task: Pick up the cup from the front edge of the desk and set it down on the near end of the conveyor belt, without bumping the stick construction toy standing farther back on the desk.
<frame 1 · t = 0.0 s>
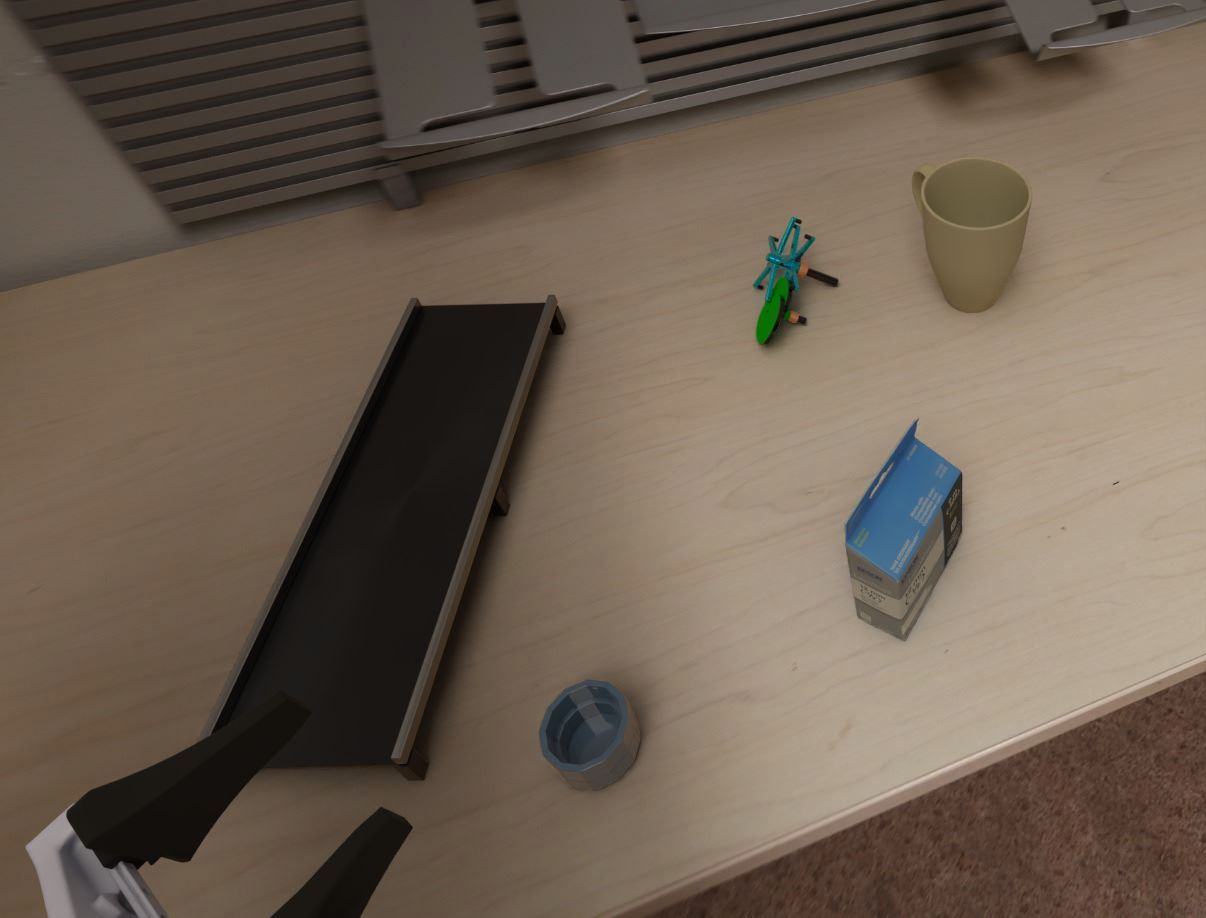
hand: (345, 756, 39), 19 cm above the table, tool horizontal, fingers open, 7 cm apart
cup: (600, 747, 57), on the table
stick construction toy: (796, 304, 84), on the table
mug: (961, 288, 85), on the table
conveyor belt: (497, 326, 82), on the table
label tape box: (909, 576, 65), on the table
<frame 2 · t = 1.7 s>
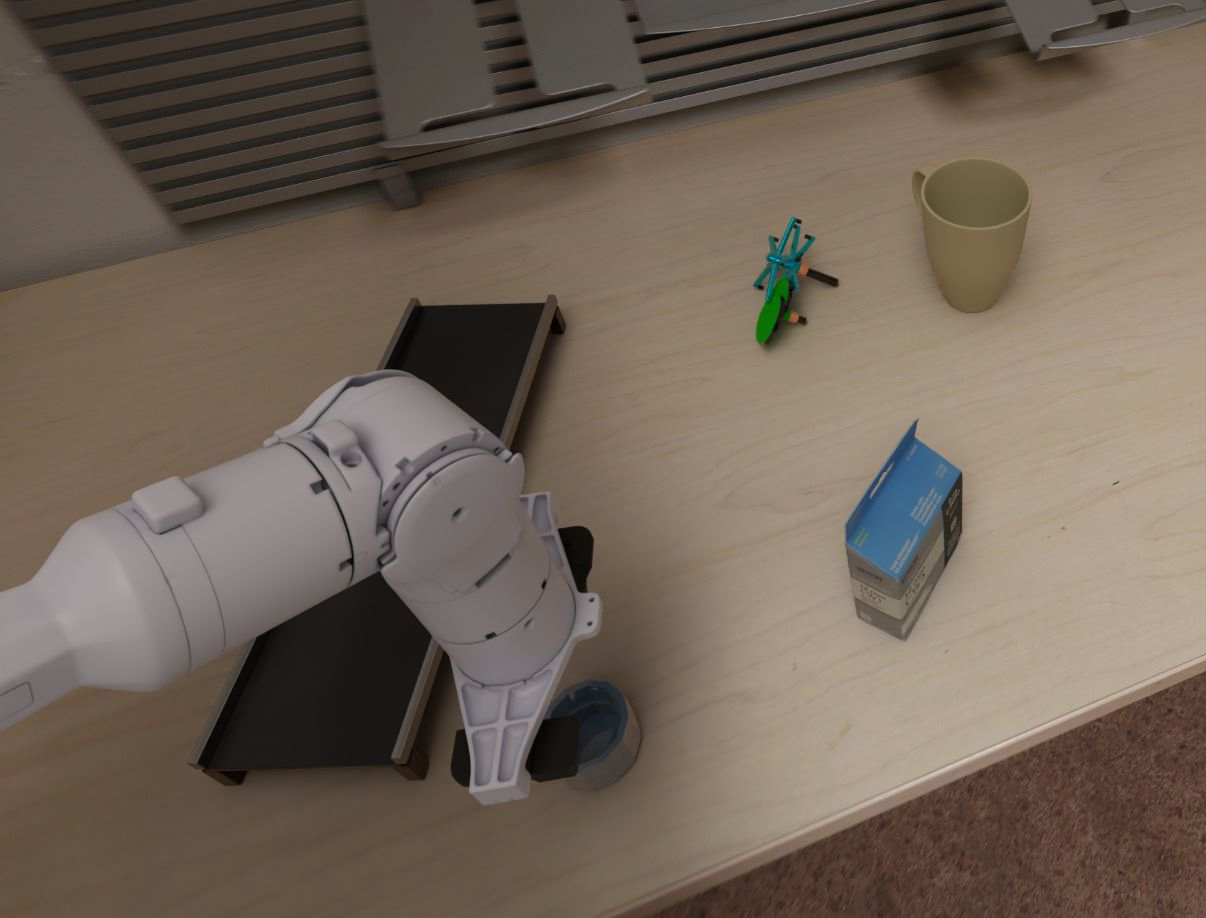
hand: (565, 696, 52), 8 cm above the table, tool pointing down, fingers open, 7 cm apart
nothing on the table moved.
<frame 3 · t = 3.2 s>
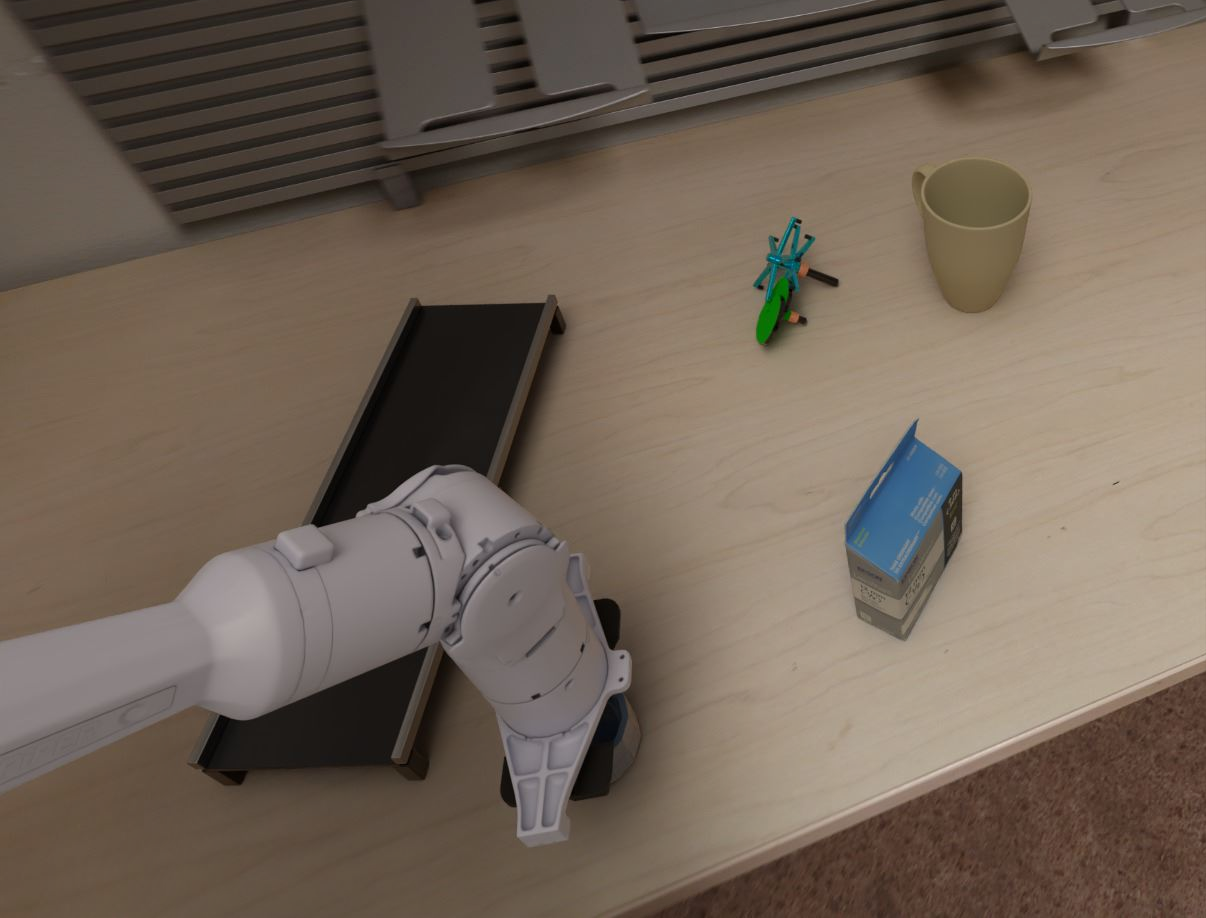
hand: (594, 739, 56), 1 cm above the table, tool pointing down, fingers closed on cup, 5 cm apart
cup: (600, 747, 57), on the table, touching gripper
everything else where it was.
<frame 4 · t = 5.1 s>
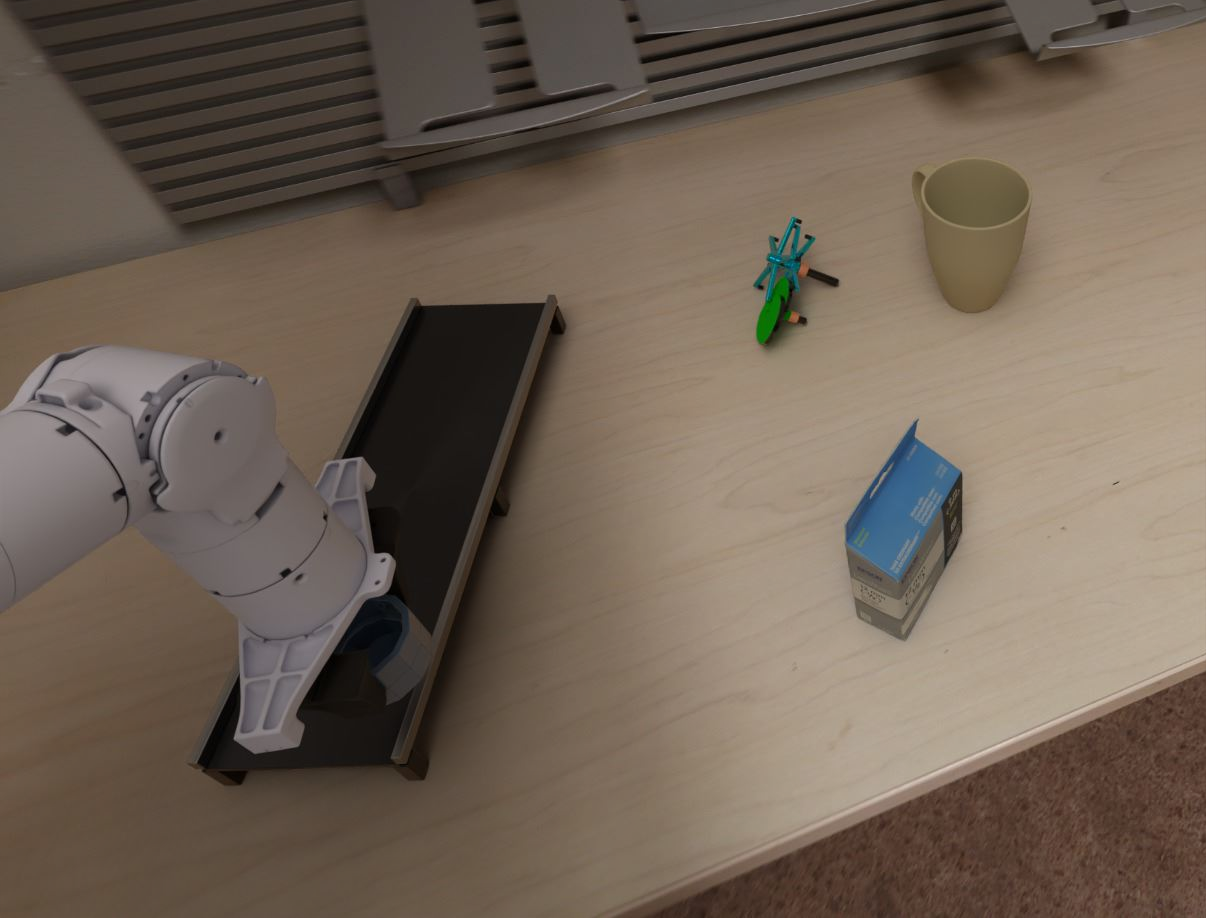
hand: (379, 657, 53), 8 cm above the table, tool pointing down, fingers closed on cup, 5 cm apart
cup: (389, 666, 54), point 7 cm above the table, touching gripper
everything else where it was.
when the fingers open (4 cm above the table, at t = 7.1 s): cup stays where it is, resting on conveyor belt.
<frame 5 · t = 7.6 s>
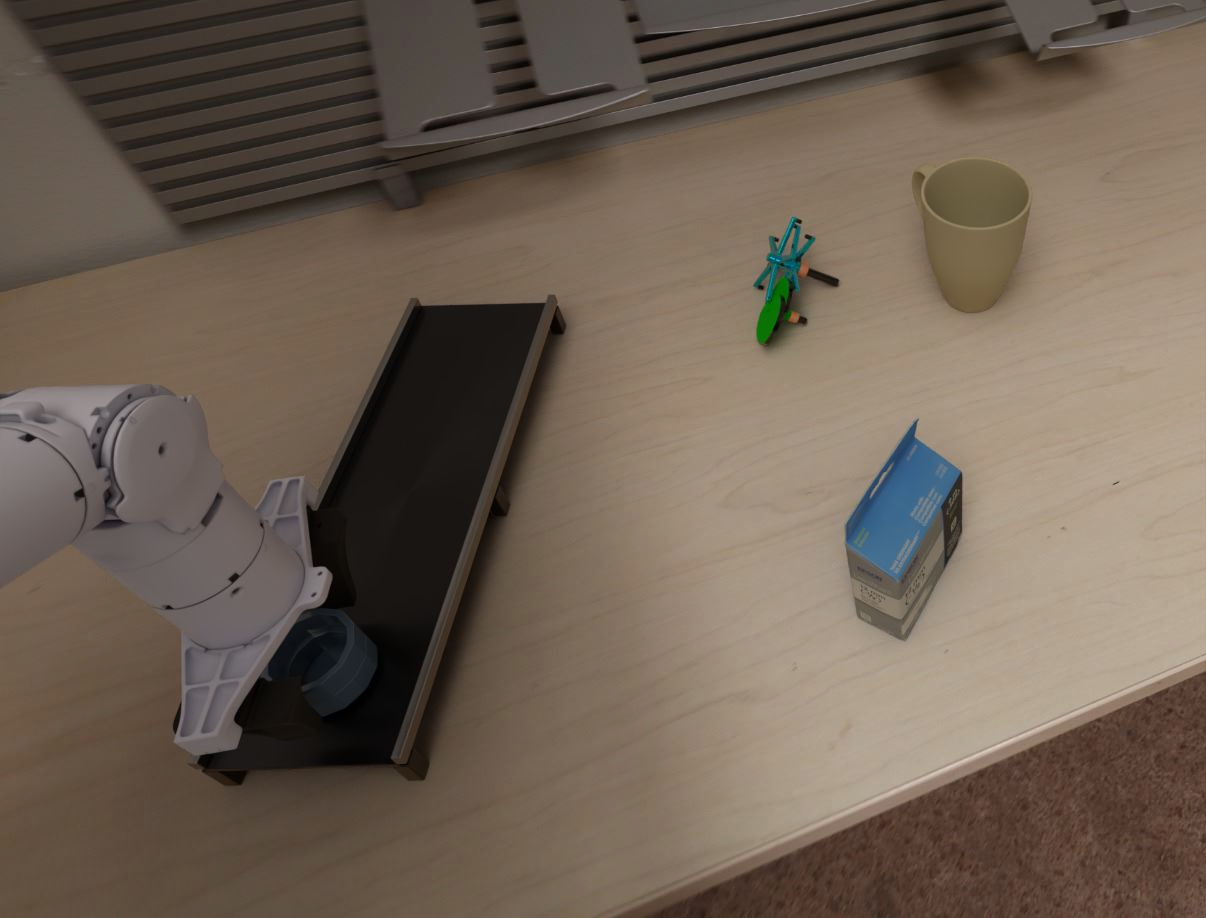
hand: (322, 664, 56), 5 cm above the table, tool pointing down, fingers open, 7 cm apart
cup: (337, 676, 58), point 3 cm above the table, touching conveyor belt
everything else where it was.
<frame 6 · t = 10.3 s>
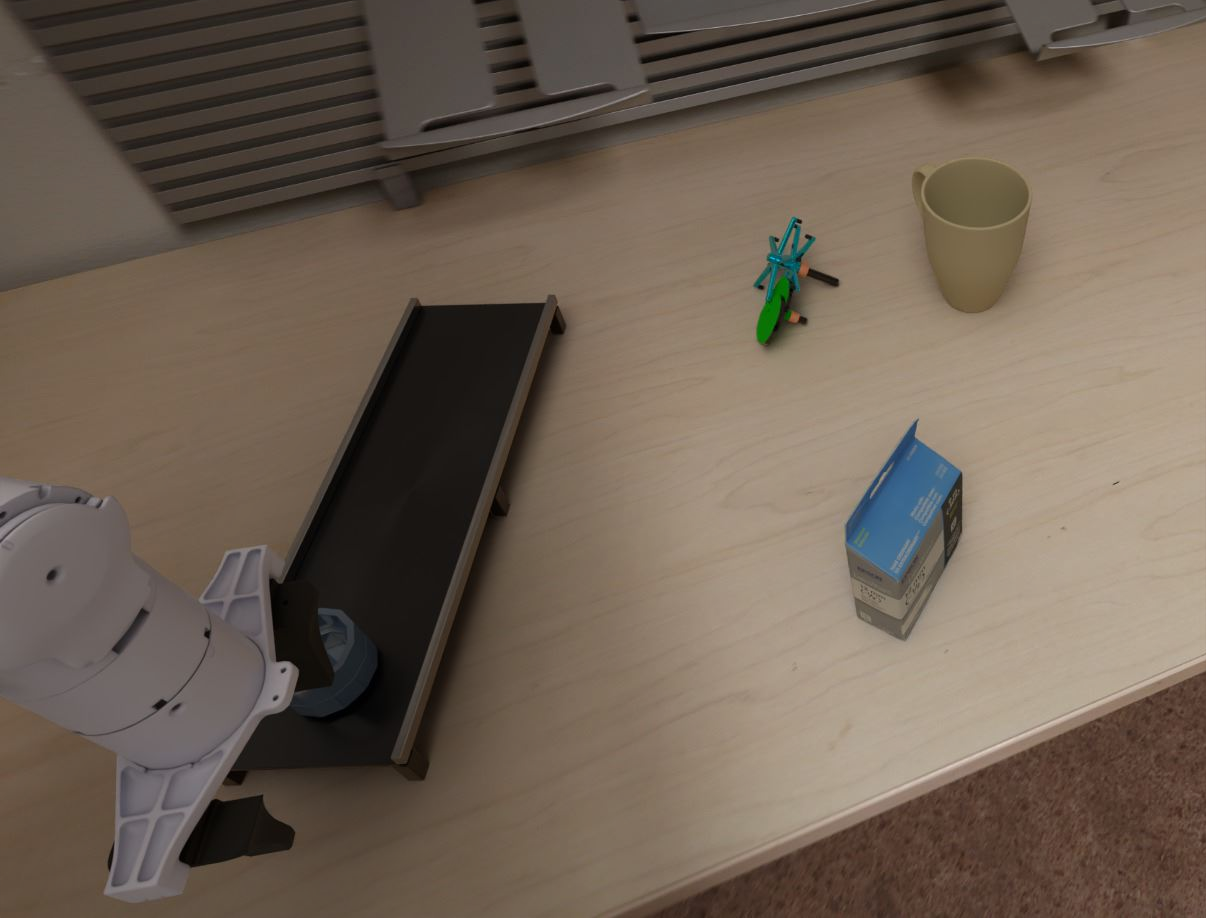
hand: (294, 759, 48), 9 cm above the table, tool pointing down, fingers open, 7 cm apart
nothing on the table moved.
at the end: cup inside the target area on the conveyor belt (0.1 cm from its centre), point 3.0 cm above the conveyor belt's base; cup tilted 0°; cup touching conveyor belt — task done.
